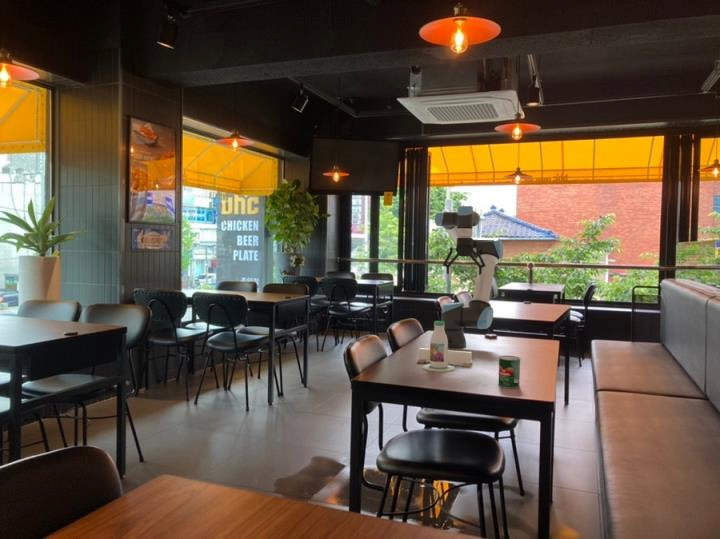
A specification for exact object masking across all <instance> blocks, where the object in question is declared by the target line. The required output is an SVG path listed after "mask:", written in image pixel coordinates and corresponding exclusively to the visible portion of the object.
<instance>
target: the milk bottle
mask: <svg viewBox="0 0 720 539" xmlns="http://www.w3.org/2000/svg"><path fill="white" fill-rule="evenodd" d="M444 325H445V322H444V321H442V320H435V321H433V327H434V328H433V332H432V334H431V337H430V341H429V344H430V345H429V349H430V363H429V364H430V366H431V367H433V368H446V367H447V365H449V364H448V350H449V348H448V339H447V336H446V333H445V330H444Z"/></svg>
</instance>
